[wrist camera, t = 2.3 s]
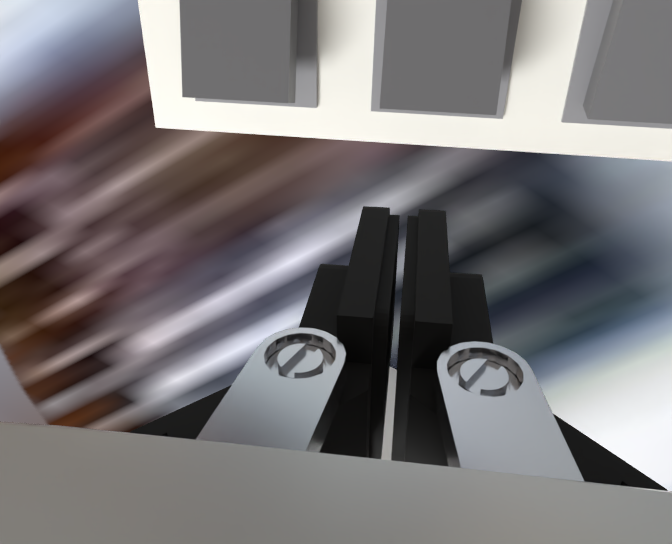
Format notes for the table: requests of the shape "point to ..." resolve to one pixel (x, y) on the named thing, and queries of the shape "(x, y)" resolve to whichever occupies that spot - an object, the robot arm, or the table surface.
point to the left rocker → (239, 49)
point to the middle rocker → (444, 55)
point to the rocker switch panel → (407, 125)
